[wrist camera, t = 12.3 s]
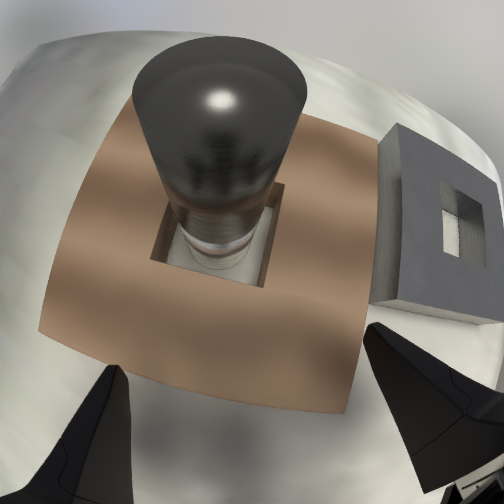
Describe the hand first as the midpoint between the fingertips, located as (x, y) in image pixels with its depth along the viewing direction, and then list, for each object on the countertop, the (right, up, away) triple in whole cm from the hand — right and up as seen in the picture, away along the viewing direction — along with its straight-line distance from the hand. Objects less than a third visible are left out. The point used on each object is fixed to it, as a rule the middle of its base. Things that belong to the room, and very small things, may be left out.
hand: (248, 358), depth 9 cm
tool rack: (-2, +4, +9) cm, 10 cm away
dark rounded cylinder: (-2, +4, +9) cm, 10 cm away
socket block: (+17, +5, +11) cm, 21 cm away
